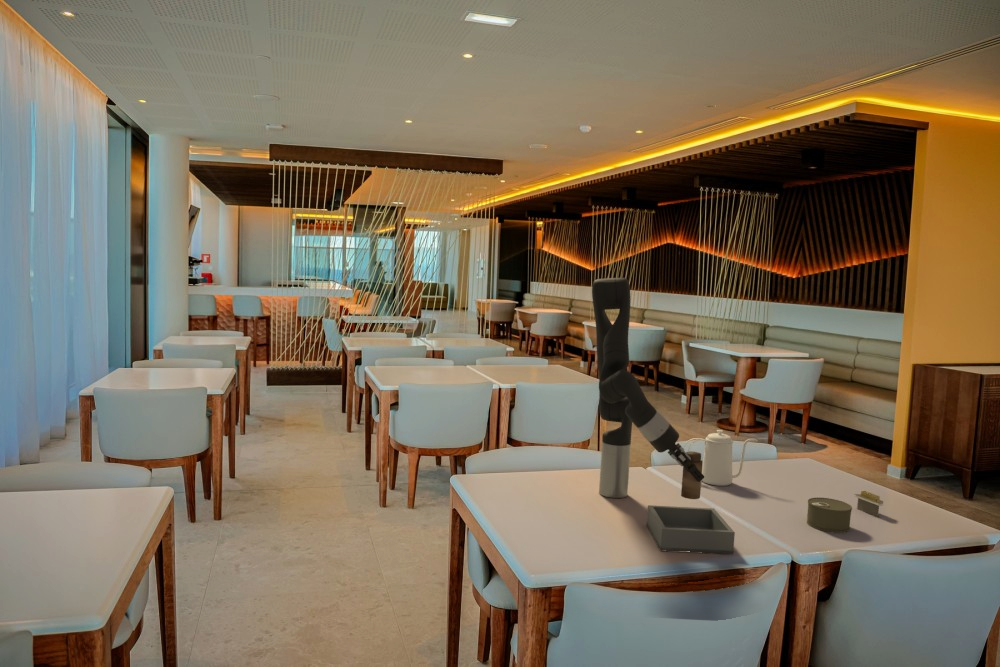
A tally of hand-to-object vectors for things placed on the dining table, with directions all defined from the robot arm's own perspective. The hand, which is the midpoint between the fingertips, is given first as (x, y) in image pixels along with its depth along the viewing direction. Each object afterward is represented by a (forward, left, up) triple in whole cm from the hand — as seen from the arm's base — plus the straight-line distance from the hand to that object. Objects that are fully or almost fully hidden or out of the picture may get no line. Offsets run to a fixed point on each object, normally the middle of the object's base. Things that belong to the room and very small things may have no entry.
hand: (698, 476), depth 197 cm
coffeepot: (-58, +23, -18) cm, 65 cm away
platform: (-32, +64, -19) cm, 74 cm away
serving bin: (0, -2, -18) cm, 18 cm away
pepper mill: (0, -2, -6) cm, 6 cm away
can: (-17, +44, -18) cm, 51 cm away
